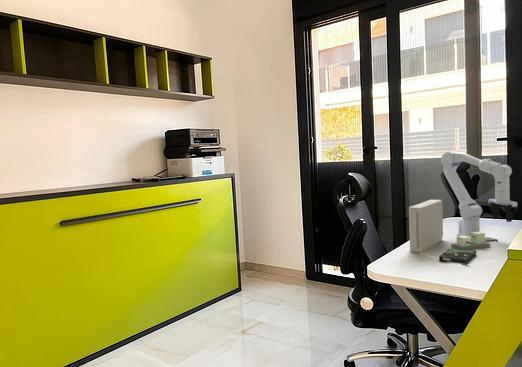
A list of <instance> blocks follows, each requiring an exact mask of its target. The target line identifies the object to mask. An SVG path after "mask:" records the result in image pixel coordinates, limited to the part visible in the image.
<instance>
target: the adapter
mask: <svg viewBox="0 0 522 367" xmlns="http://www.w3.org/2000/svg"><path fill="white" fill-rule="evenodd" d="M456 243H457V245H460V246H471V244H473V243H471V237H469V236H465V235H463V236H460V235H457V236H456Z"/></svg>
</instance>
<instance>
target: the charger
mask: <svg viewBox="0 0 522 367" xmlns="http://www.w3.org/2000/svg"><path fill="white" fill-rule="evenodd" d="M470 237H471V243H473V244H476V245H479V244H485V238H486V233H484V232H481V231H480V232H470Z"/></svg>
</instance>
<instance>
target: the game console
mask: <svg viewBox="0 0 522 367" xmlns="http://www.w3.org/2000/svg"><path fill="white" fill-rule="evenodd" d="M443 216H444V214H443V199H429V200H426V201H423V202H421V203H418V204H415V205H411V206H408V227H409V228H408V230H409V231H408V232H409V251H410V252H414V253H420V254H421V253H423V252H424V251H426V250H428V249H429V248H431V247H433V246H434V245H436V244H438V243H440V242H441V241H443V237H444V220H443V219H444V217H443Z"/></svg>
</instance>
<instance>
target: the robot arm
mask: <svg viewBox="0 0 522 367" xmlns="http://www.w3.org/2000/svg"><path fill="white" fill-rule="evenodd" d="M440 162H441V164H442V172H443V174H444V176H445V179H446V180H447V181H448V184H449V185H450V187H451V189H452V191H453V193H454V194H455V196H456V198H457V200H458V202H459V204H458V209H459V214H460V216H461V218H460V219H459V221H458V233H457V236H463V235H465V236H469V237H470V232H481V231H480V223H481V222H480V217H481V216H482V214H483V208H482V206H481V205H480V204H478V203H477V202H476V200H475V199H473V198H471V195H470V194H469V193H468V190H467V189H466V187H465V185H464V184H463V181H462V179H461V178H460V177H459V174H458V172H457V169H458V167H459V166H460V164H462V163H463V162H464V163H467V164H470V165H473V166H476V167H478V169H479V170H480V171H483V172H485V173H487V174H490V175H492V176H493V178H494V198H489V199H488V204H487V207H488V208H489V209H490V211H491V215H492V218H493V220H498V219H499V217H500V209H501V205H502V206H503V209H504V212H505V219H506V220H505V221H506V223H507V222H508V223H510V222H512V220H513V218H514V215H515V212H516V211H517V210H518V202H517V201H514V200H513V201H512V200H510V199H511V196H510V193H511V192H510V188H511V187H510V186H511V185H510V176H511V175H512V173H513V170H512V167H511V166H509V165H508V164H502V163H501V162H496V161H494V160H492V159H491V158H484V159H480V158H478V157H475V156H472V155H471V154H468V153H466V152H463V151H460V150H456V151H446V152H444V153H443V154H441V159H440Z"/></svg>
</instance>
